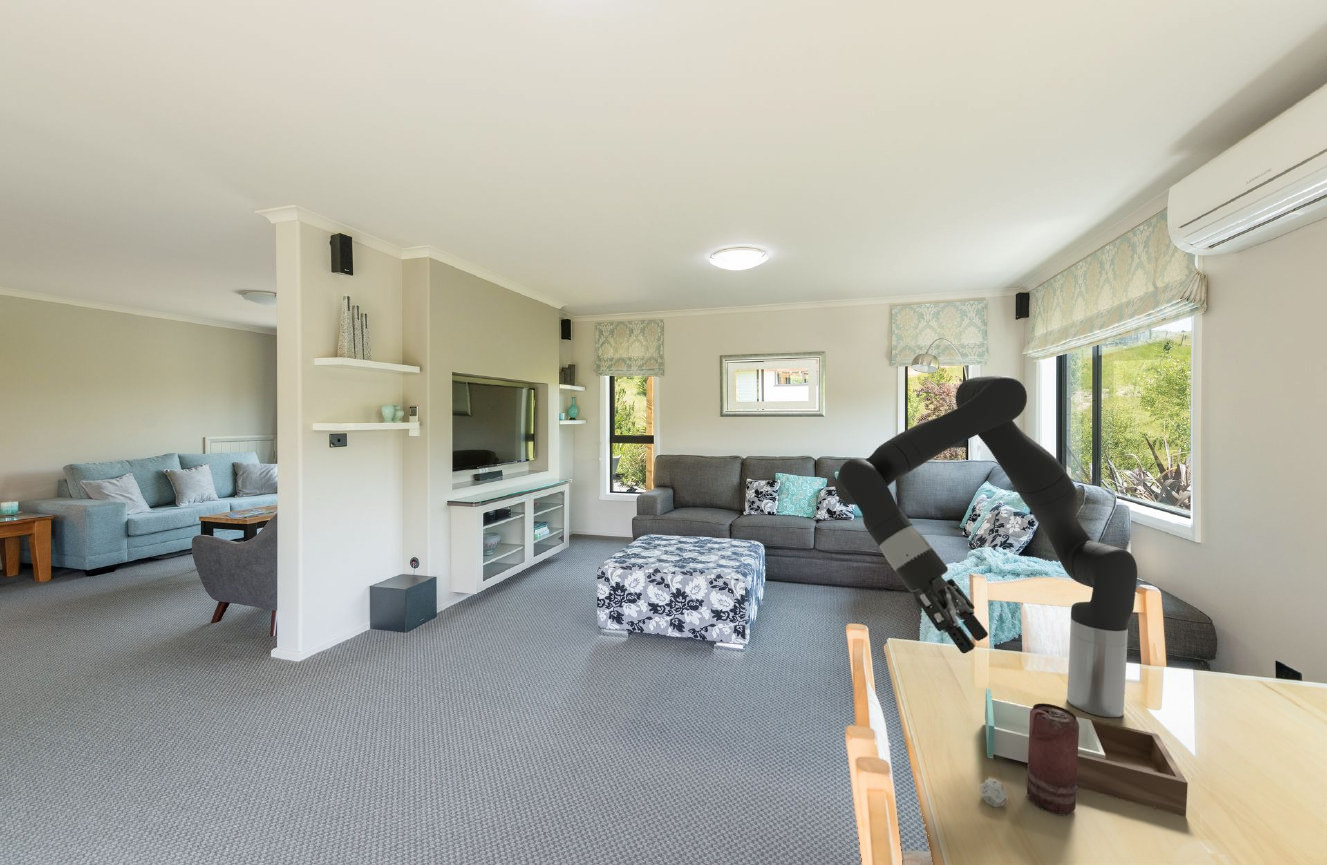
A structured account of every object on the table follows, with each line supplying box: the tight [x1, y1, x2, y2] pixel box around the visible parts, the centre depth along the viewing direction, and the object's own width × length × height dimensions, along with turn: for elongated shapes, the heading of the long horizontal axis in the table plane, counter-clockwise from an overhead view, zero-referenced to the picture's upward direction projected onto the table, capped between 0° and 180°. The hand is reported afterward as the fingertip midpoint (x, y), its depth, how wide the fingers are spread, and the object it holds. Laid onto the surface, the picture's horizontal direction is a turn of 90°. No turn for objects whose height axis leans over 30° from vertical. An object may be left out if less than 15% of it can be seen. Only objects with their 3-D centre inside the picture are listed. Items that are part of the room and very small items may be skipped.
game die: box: [979, 778, 1009, 808], centre depth 86 cm, size 4×4×3 cm
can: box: [1026, 703, 1079, 816], centre depth 86 cm, size 6×6×14 cm
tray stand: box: [1075, 715, 1188, 817], centre depth 95 cm, size 15×17×5 cm
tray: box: [984, 688, 1105, 764], centre depth 99 cm, size 15×16×5 cm
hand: (976, 644), depth 93 cm, fingers open, 8 cm apart
